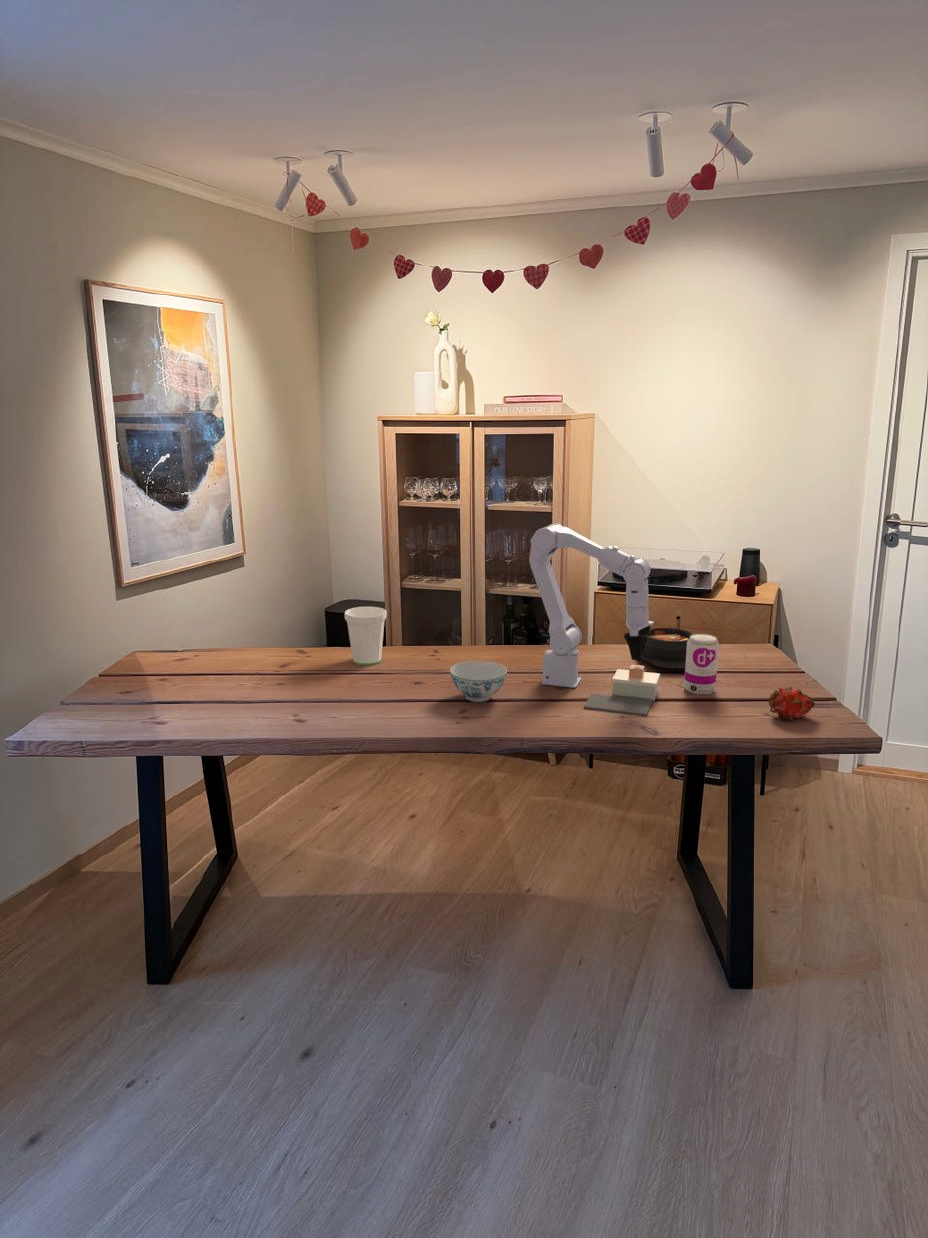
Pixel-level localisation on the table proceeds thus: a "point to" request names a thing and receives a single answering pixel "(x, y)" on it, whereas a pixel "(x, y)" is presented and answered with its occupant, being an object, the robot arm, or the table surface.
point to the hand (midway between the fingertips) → (638, 655)
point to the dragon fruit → (790, 703)
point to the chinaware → (478, 679)
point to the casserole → (666, 647)
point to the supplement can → (701, 664)
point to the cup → (366, 633)
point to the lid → (636, 676)
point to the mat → (618, 704)
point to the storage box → (635, 691)
